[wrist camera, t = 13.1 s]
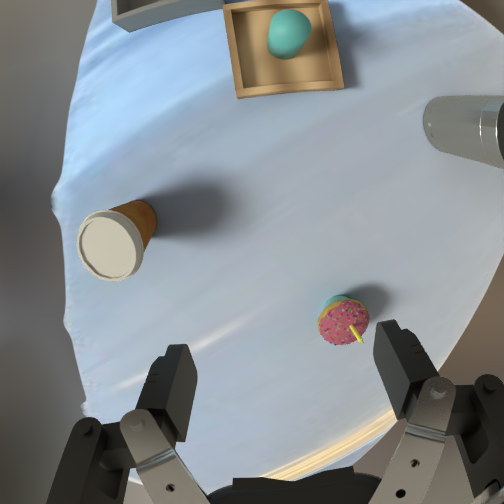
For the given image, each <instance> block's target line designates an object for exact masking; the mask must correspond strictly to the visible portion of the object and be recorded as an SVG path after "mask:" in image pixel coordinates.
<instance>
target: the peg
mask: <svg viewBox="0 0 504 504" xmlns="http://www.w3.org/2000/svg"><path fill="white" fill-rule="evenodd" d="M311 29H312V26H311V22H310V20H309V19H308V17H307V16H306V15H305V14H303V13H302V12H300V11H297V10H293V9H285V10H281V11H279V12H277V13H276V14H275V15H274V16H273V17H272V19H271V23H270V29H269V35H268V41H267V48H268V51H269V52H270V54H271V55H273V56H274V57H276V58H278V59H282V60H287V59H291V58H293V57H294V56H296V55H297V53H298V52H299V50H300V49H301V47H302V46H303V44H304V43H305V41H306V40H307V38H308V36H309V35H310V33H311Z"/></svg>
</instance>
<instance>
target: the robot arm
mask: <svg viewBox="0 0 504 504" xmlns="http://www.w3.org/2000/svg"><path fill="white" fill-rule="evenodd" d="M423 125H424V130H425V133H426V136H427V138H428V140H429V141H430V143H431V144H432V145H433V146H434V147H435V148H436V149H438V150H439V151H442V152H445V153H449V154H453V155H456V156H460V157H464V158H468V159H471V160H475V161H478V162H482V163H485V164H488V165H491V166H495V167H498V168H501V169H504V96H446V97H437V98H435V99H433V100H432V101H430V102H429V104H428V105H427V107H426V109H425V112H424V117H423ZM373 355H374V361H375V364H376V366H377V369H378V371H379V374H380V376H381V379H382V381H383V384H384V386H385V389H386V391H387V394H388V397H389V399H390V402H391V405H392V407H393V410H394V413H395V415H396V418H397V420H399V419H403V418H406V420H407V422H408V424H407V426H406V428H405V431H404V433H403V435H402V438H401V440H400V442H399V444H398V446H397V449H396V451H395V453H394V455H393V457H392V459H391V461H390V463H389V465H388V467H387V469H386V471H385V472H384V474H383V476H382V478H379V477H377V476H374V475H371V474H366V473H357V472H356V473H355V472H354V469H353V466H350V467H344V468H339V469H333V470H327V471H323V472H320V473H317V474H314V475H312V476H309V477H306V478H303V479H300V480H297V481H284V480H277V479H270V478H264V477H257V478H233V485H229V486H226V487H223V488H220V489H218V490H216V491H214V492H212V493H210V494H209V495H207V494H206V492H205V491H204V490H203V489H202V487H201V486H200V485H199V483H198V482H197V481H196V479H195V478H194V477H193V475H192V474H191V472H190V471H189V470H188V468H187V467H186V465H185V464H184V462H183V461H182V459H181V458H180V456H179V455H178V453H177V452H176V450H175V445H176V442H185V440H186V435H187V430H188V425H189V420H190V415H191V410H192V405H193V400H194V395H195V390H196V385H197V370H196V367H195V364H194V361H193V358H192V356H191V353H190V350H189V347H188V345H187V344H174V345H169V346H168V348H167V351H166V354H165V356H159V357H158V358H157V359H156V360H155V361H154V363H153V364H152V365H151V367H150V370H149V373H148V375H147V378H146V383H144V386H143V389H142V391H141V394H140V397H139V400H138V402H137V405H136V408H135V410H132V411H129V412H128V413H126V414H125V415H124V416H123V417H122V419H121V421H120V422H115V423H109V424H103V425H102V424H101V423H100V422H99V421H98V420H97V419H96V418H93V417H86V418H83V419H81V420H79V421H78V422H77V423H76V424H75V425H74V427H73V429H72V432H71V434H70V437H69V439H68V442H67V445H66V447H65V450H64V453H63V455H62V458H61V461H60V464H59V466H58V469H57V472H56V475H55V478H54V481H53V484H52V487H51V490H50V493H49V496H48V500H47V503H46V504H123V501H124V496H125V491H126V486H127V481H128V477H129V472H130V468H136V471H137V473H138V475H139V477H140V479H141V481H142V483H143V485H144V486H145V489H146V490H147V492H148V494H149V496H150V497H151V499H152V501H153V503H154V504H421V503H422V501H423V499H424V497H425V494H426V492H427V490H428V487H429V485H430V483H431V480H432V478H433V475H434V473H435V470H436V468H437V465H438V462H439V459H440V457H441V454H442V450H443V448H444V445H445V441H446V436H447V435H454V437H455V440H456V443H457V445H458V448H459V451H460V454H461V457H462V460H463V463H464V466H465V469H466V472H467V476H468V479H469V482H470V485H471V489H472V492H473V495H474V499H473V500H472V502H471V503H470V504H504V384H503V383H502V381H501V380H500V379H499V378H498V377H496V376H494V375H490V374H485V375H482V376H480V377H478V379H477V380H476V381H475V384H474V385H454V384H453V383H452V381H451V380H449V379H448V378H445V377H441V376H439V374H438V372H437V370H436V368H435V367H434V365H433V363H432V362H431V360H430V358H429V356H428V355H427V353H426V352H425V350H424V348H423V346H422V345H421V343H420V341H419V340H418V338H417V337H416V335H415V334H414V333H412V332H411V331H409V330H408V329H403V330H401V328H400V327H399V325H398V323H397V322H396V320H394V319H393V320H388V321H382V322H378V323H377V325H376V333H375V341H374V348H373Z"/></svg>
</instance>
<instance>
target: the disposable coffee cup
mask: <svg viewBox="0 0 504 504" xmlns="http://www.w3.org/2000/svg"><path fill="white" fill-rule="evenodd" d="M156 226H157V218H156V214H155V212H154V210H153V209H152V207H151V206H150V205H148V204H147V203H145V202H143V201H138V200H136V201H131V202H129V203H126V204H123V205H120V206H117V207H114V208H112V209H109V210H99V211H95V212H93V213H92V214H90V215H88V216H87V217H86V218H85V220H84V221H83V223H82V224H81V227H80V230H79V232H78V236H77V250H78V254H79V256H80V259H81V261H82V263H83V264H84V266H85V267H86V268H87V269H88V270H89V271H90V272H91V273H92V274H93V275H95V276H96V277H98V278H100V279H102V280H105V281H120V280H123V279H127V278H129V277H131V276H132V275H133V274H135V273H136V272H137V270H138V269H139V267H140V265H141V263H142V260H143V253H144V251H145V249H146V247H147V245H148V243H149V241H150V239H151V237H152V235H153V233H154V231H155V229H156Z"/></svg>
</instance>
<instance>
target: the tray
mask: <svg viewBox="0 0 504 504" xmlns="http://www.w3.org/2000/svg"><path fill="white" fill-rule="evenodd" d="M222 7H223V13H224V20H225V26H226V32H227V39H228V45H229V51H230V58H231V64H232V70H233V77H234V83H235V90H236V96H237V98H238V99H242V98H249V97H256V96H265V95H273V94H283V93H295V92H308V91H328V90H340V89H342V88H344V84H343V77H342V71H341V64H340V59H339V53H338V47H337V42H336V37H335V32H334V27H333V22H332V18H331V13H330V9H329V5H328V0H253V1H245V2H237V3H230V4H224V5H222ZM285 9H293V10H297V11H300V12H302V13H303V14H305V15H306V16H307V17H308V19H309V20H310V22H311V26H312V29H311V33H310V35H309V36H308V38H307V40H306V41H305V43H304V44H303V46H302V47H301V49H300V50H299V52H298V53H297V55H296V56H294V57H293V58H291V59H287V60H282V59H278V58H276V57H274V56H273V55H271V54H270V52H269V51H268V48H267V41H268V35H269V29H270V23H271V19H272V17H273V16H274V15H275V14H276V13H277V12H279V11H281V10H285Z"/></svg>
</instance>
